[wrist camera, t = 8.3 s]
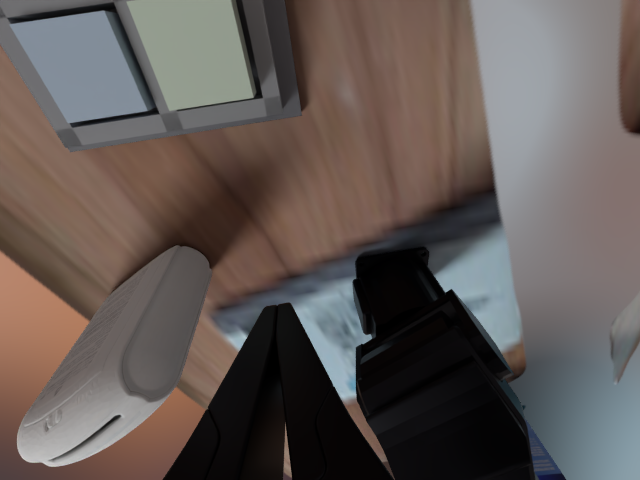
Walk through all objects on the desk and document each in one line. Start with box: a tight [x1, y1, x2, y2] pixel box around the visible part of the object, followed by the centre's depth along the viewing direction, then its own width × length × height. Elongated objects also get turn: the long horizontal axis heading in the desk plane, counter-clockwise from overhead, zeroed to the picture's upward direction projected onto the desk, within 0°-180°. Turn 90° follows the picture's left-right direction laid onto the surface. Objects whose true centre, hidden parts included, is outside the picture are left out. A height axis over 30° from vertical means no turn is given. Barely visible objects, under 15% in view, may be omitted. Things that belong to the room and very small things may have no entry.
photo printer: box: [17, 245, 212, 467], centre depth 19 cm, size 10×4×12 cm, turn 126°
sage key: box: [127, 0, 256, 111], centre depth 13 cm, size 4×4×2 cm
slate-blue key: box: [9, 11, 157, 123], centre depth 14 cm, size 4×4×2 cm
